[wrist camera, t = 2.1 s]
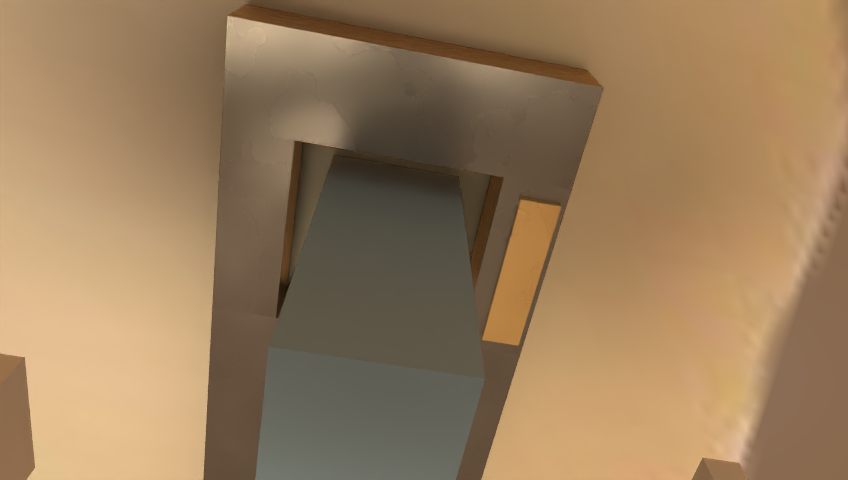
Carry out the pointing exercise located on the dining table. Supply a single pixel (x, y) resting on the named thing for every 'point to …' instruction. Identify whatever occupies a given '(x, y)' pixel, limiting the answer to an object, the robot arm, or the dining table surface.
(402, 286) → the plug
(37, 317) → the dining table surface
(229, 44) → the panel
